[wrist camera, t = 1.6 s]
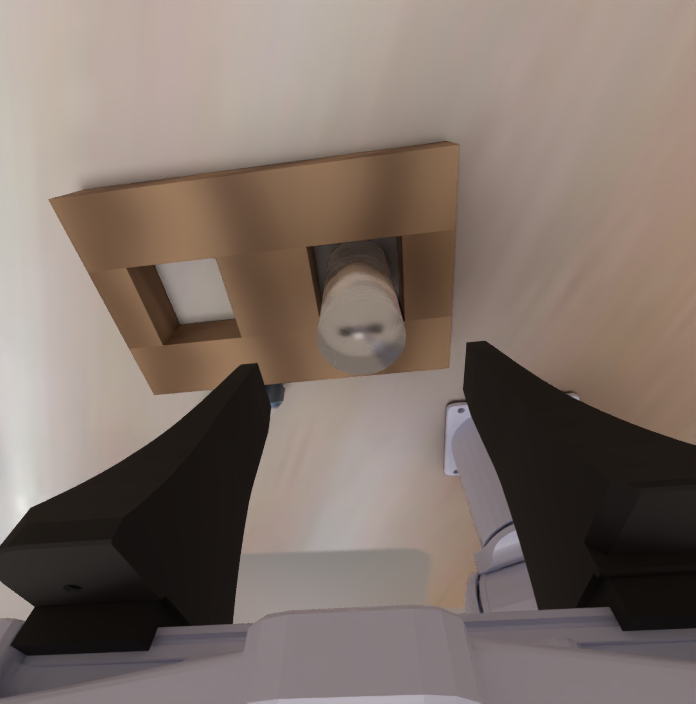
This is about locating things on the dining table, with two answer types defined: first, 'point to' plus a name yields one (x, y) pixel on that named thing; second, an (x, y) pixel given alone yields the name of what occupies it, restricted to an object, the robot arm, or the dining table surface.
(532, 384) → the robot arm
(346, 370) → the steel pin
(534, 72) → the dining table surface
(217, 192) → the wooden holder tray
